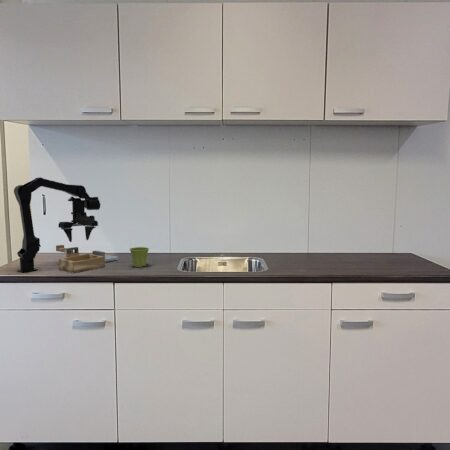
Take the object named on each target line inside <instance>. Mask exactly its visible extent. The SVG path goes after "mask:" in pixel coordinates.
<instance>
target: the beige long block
mask: <svg viewBox="0 0 450 450" xmlns="http://www.w3.org/2000/svg"><path fill="white" fill-rule="evenodd" d="M67 248H68V247H67ZM67 248H66V247H65V245H64V244H57V245H55V252H59V253H60V252H61V253H65V254H67ZM71 253H74V250H71Z"/></svg>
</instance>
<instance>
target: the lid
mask: <svg viewBox="0 0 450 450" xmlns="http://www.w3.org/2000/svg"><path fill="white" fill-rule="evenodd" d="M91 254H93V255H98V256H103V257H105V263H109V262H113V261H116V260H119V256H117V255H116V256H114V255H111V254H110V255H109V254H106V252H105V251H100V250H92V253H91Z"/></svg>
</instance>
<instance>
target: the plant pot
mask: <svg viewBox="0 0 450 450" xmlns="http://www.w3.org/2000/svg"><path fill="white" fill-rule="evenodd" d="M149 250H150V247H145V246H138V247H137V246H136V247H131V248H129V252H130V254H131V259H132V266H133V267H136V268H143V267H146V266H147V261H148V260H147V259H148V253H149Z"/></svg>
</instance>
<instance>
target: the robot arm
mask: <svg viewBox="0 0 450 450" xmlns="http://www.w3.org/2000/svg"><path fill="white" fill-rule="evenodd" d="M40 187H42V188H45V189H46V188H47V189H50V190H55V191H56V190H57V191H60V192H64V193H66V194H68V195H71V196H70V197H69V198H68V199H67V201H68V202H72V203H71V205H72V207H71V208H72V211H71V213H70V215H72V220H71V221H59V223H58V225H57V226H58V228H60V229H61V230H63V232H64V234H65V235H66V237H67V239H68V241H69V242H70V243H72V242H73V233H72V231H73V227H82V226H83V227H84V232H85V233H84V234H85V240H86V241H89V239H90V236H91V233H92V231H93V230H94V229H96V227H99V222H98V220H96V218H95V216H94V215H89V216H88V215H87V212H86V211H99V210H100V208H101V202H100V201H101V200H100V199H99V196H93V197H91V196H90V195H89V194H88V192H87V189H86V188H85V186H83V185H81V184H79V185H78V184H66V183H63V182H58V181H55V180H50V179H46V178H43V177H41V176H40V177H35V178H34V179H32V180H31V181H28V182H26V183H25V184H19V185H17V186H15V187H14V188H13V194H14V197H15V199H16V201H17V203H18V205H19V212H20V219H21V225H22V231H23V232H22V233H23V235H22V236H23V238H22V242H21V243H22V244H21V248H20V250H18V252H16V254H17V256H18V257H19V266H20V267H19V269H17V270H16V271H17V272H20V273H23V274H24V273H30V272H34V271H38V268H35V258H36V255H37V254H38V252H40V248H41V243H40V241H41V238H40V237H36V236H35V235H36V234H35V232H34V231H35V230H34V223H33V216H32V210H31V201H32V193H33V192H35V191H36V190H38V189H40ZM85 209H86V211H85Z"/></svg>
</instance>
